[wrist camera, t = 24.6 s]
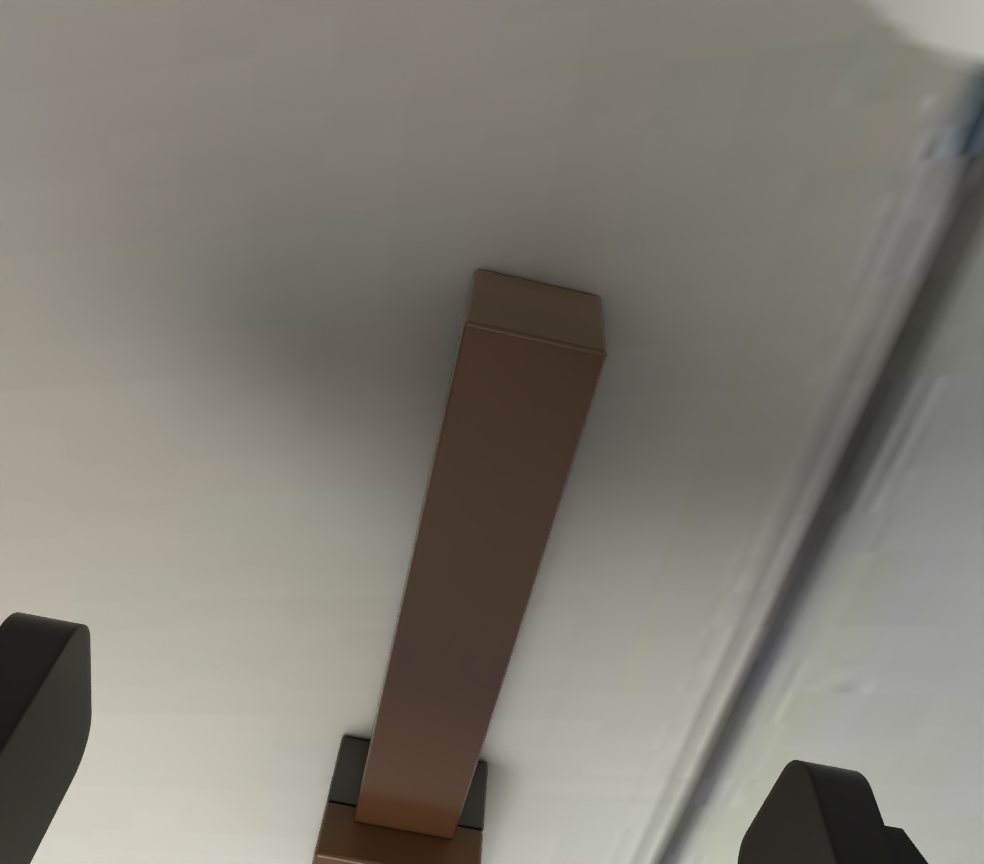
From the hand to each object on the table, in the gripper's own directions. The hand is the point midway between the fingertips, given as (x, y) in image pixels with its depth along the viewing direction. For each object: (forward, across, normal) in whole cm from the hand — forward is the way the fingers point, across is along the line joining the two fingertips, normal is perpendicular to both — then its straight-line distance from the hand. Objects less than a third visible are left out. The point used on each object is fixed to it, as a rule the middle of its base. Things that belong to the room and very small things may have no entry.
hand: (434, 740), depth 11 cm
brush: (+6, 0, +6) cm, 8 cm away
